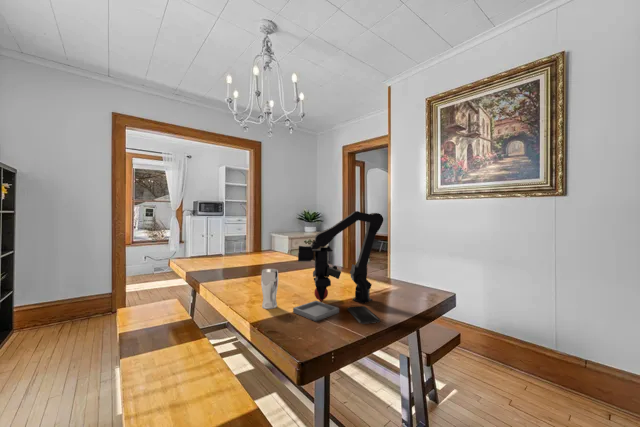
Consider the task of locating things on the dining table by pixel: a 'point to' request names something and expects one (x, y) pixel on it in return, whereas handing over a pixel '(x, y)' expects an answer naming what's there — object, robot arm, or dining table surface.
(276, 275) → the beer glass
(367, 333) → the dining table surface
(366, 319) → the phone
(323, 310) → the tray
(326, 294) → the onion
